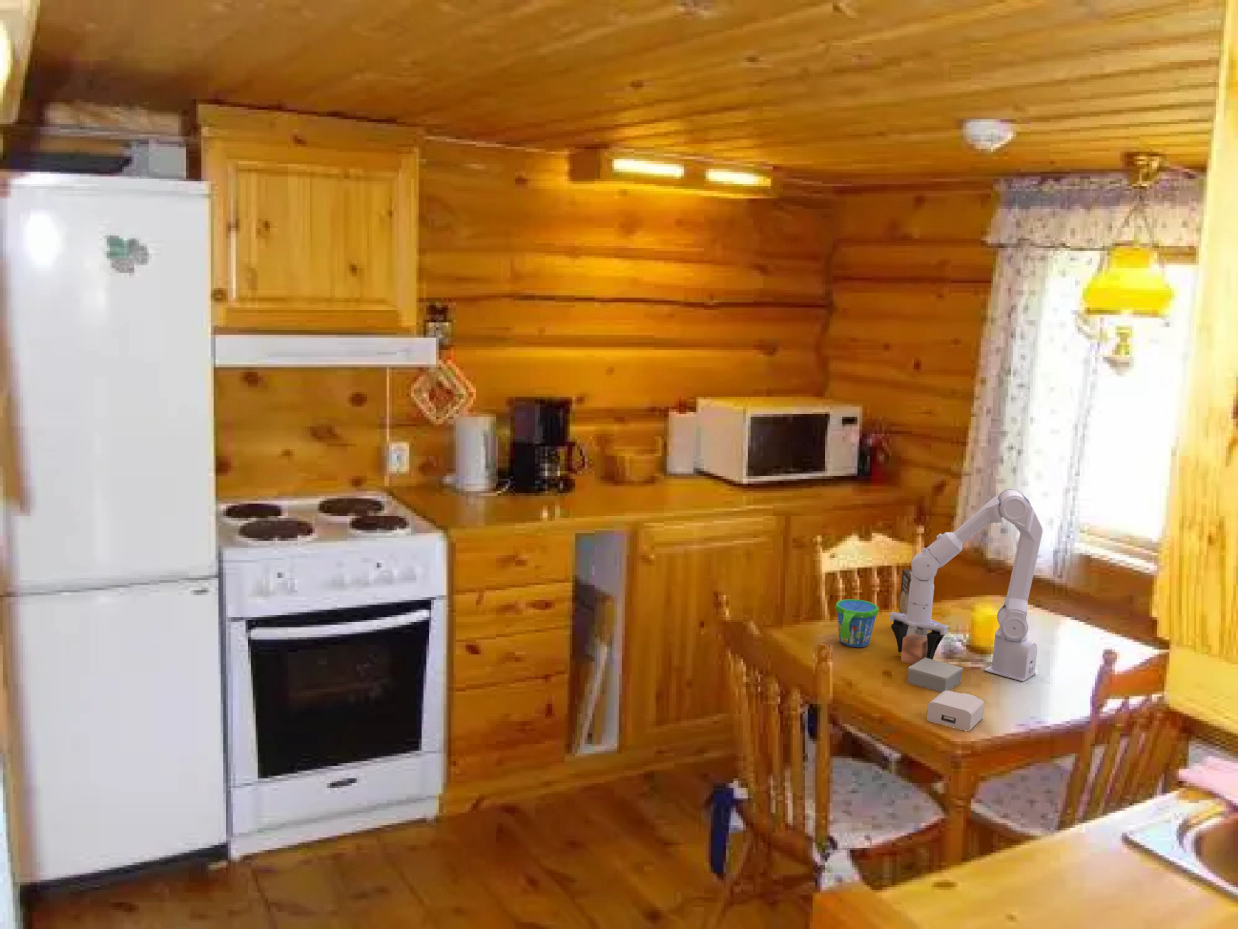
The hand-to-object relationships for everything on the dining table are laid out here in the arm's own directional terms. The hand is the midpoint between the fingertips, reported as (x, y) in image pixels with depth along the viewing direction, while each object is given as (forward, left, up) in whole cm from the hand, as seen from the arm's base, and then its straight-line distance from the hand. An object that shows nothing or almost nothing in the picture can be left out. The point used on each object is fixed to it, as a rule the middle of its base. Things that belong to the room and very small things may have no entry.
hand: (915, 655), depth 272 cm
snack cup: (+17, 0, -2) cm, 17 cm away
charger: (-23, +24, -2) cm, 33 cm away
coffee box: (+11, -20, -2) cm, 23 cm away
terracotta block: (0, 0, -2) cm, 2 cm away
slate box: (-10, +10, -2) cm, 14 cm away
